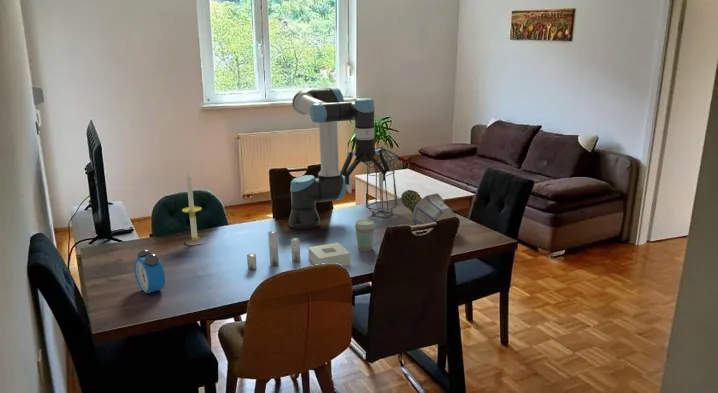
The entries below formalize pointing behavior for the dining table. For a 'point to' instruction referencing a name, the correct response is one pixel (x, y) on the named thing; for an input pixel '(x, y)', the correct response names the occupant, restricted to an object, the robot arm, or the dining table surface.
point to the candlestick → (191, 208)
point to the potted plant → (426, 207)
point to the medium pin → (295, 250)
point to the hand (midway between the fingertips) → (365, 190)
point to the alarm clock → (149, 271)
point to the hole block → (329, 254)
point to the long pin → (273, 248)
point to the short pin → (251, 262)
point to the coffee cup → (365, 234)
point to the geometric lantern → (385, 184)
